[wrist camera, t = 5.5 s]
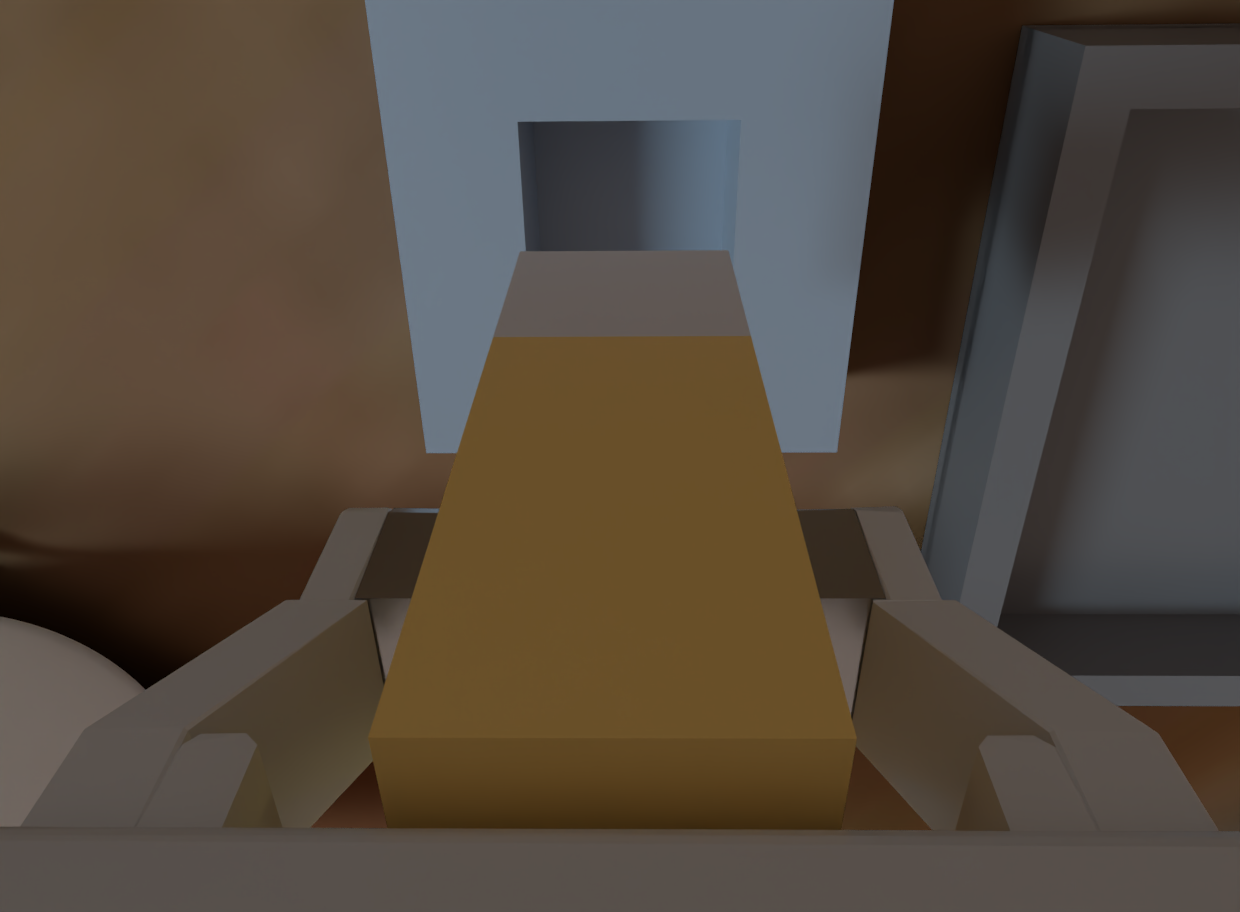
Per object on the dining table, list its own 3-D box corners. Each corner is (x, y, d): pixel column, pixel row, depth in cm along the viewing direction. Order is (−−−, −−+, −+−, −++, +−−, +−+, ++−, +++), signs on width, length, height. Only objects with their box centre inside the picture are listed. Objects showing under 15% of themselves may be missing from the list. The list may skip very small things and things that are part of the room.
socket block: (409, -17, 21) (364, -2, 18) (852, -22, 21) (894, -7, 17) (453, 380, 26) (426, 453, 23) (810, 379, 26) (836, 452, 23)
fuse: (520, 251, 13) (368, 736, 6) (727, 249, 13) (857, 737, 6) (535, 484, 16) (440, 1069, 8) (716, 483, 15) (798, 1071, 8)
